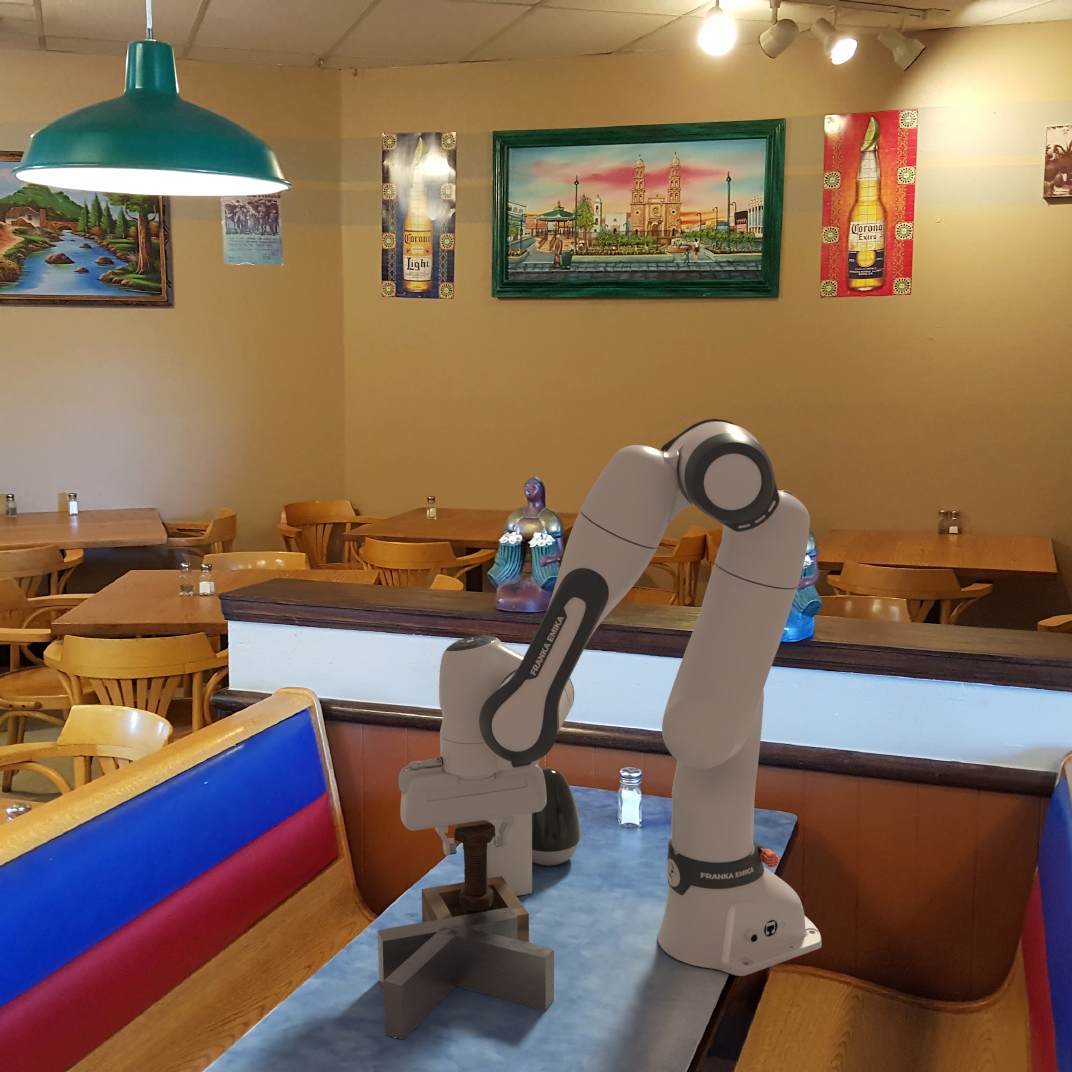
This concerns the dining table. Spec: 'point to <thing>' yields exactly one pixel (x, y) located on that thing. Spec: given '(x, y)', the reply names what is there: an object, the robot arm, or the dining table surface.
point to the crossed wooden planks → (459, 965)
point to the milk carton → (513, 855)
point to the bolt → (475, 865)
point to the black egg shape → (555, 822)
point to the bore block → (446, 905)
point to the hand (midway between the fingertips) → (475, 849)
